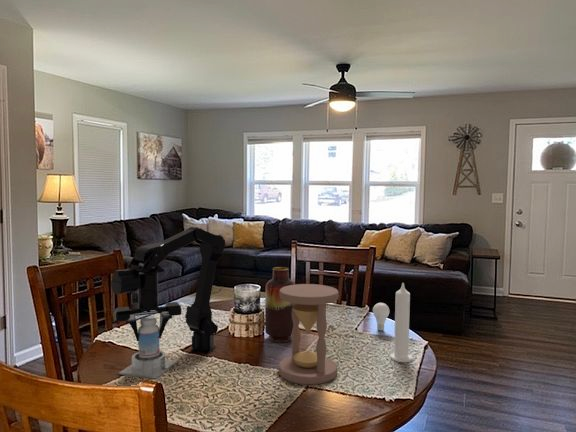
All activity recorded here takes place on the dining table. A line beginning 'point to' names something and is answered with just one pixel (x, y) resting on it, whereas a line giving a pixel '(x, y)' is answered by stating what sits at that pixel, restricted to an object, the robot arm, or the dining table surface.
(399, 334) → the candle
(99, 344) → the dining table surface
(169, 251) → the robot arm
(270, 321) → the vase
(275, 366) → the dining table surface
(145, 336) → the pill bottle
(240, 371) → the dining table surface
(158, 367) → the duct collar
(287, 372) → the hourglass
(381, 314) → the lightbulb
